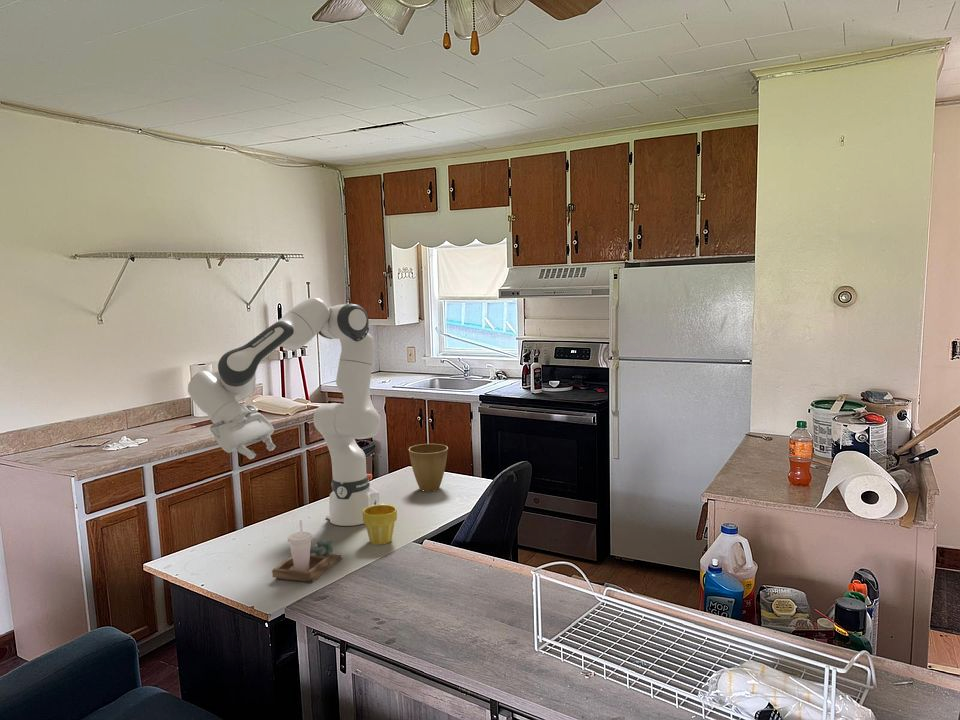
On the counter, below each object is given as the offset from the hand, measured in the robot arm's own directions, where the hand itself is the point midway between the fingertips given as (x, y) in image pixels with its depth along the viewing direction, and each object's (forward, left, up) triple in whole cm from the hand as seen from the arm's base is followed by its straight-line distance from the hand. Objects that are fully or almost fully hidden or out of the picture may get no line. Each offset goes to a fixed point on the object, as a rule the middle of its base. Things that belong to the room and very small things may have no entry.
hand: (263, 453), depth 190 cm
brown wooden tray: (+3, +14, -31) cm, 34 cm away
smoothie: (+7, +14, -30) cm, 34 cm away
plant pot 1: (-20, +25, -31) cm, 45 cm away
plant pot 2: (-73, +21, -31) cm, 82 cm away
